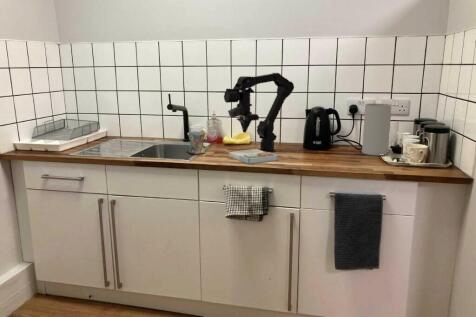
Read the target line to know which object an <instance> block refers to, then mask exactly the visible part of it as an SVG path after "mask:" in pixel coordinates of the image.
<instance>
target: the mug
mask: <svg viewBox="0 0 476 317" xmlns="http://www.w3.org/2000/svg"><path fill="white" fill-rule="evenodd" d="M205 135H206V132H205V131H189V132H187V136H188V139H189V144H190V146H189V150H188V153H189V154H192V155H200V154H204V153H205V152H206V150H205V147H204V146H205V145H204V141H205V140H204V138H205Z"/></svg>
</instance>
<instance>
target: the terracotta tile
mask: <svg viewBox="0 0 476 317" xmlns="http://www.w3.org/2000/svg"><path fill="white" fill-rule="evenodd" d="M270 153H271V152H270ZM270 153H267V152H264V153H258V157H266V156H272V154H273V153H272V154H270Z"/></svg>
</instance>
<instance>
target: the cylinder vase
mask: <svg viewBox="0 0 476 317" xmlns="http://www.w3.org/2000/svg"><path fill="white" fill-rule="evenodd" d="M392 106H393V105H392V104H388V103H365V104H364V116H363V130H362V133H363V134H362V146H361V152H362V154H364V155H368V156H376V157H377V156H378V157H379V156H380V154H385V153H387V154H388V150H389V138H390V128H391V117H392V116H391V115H392ZM380 157H381V156H380Z"/></svg>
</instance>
